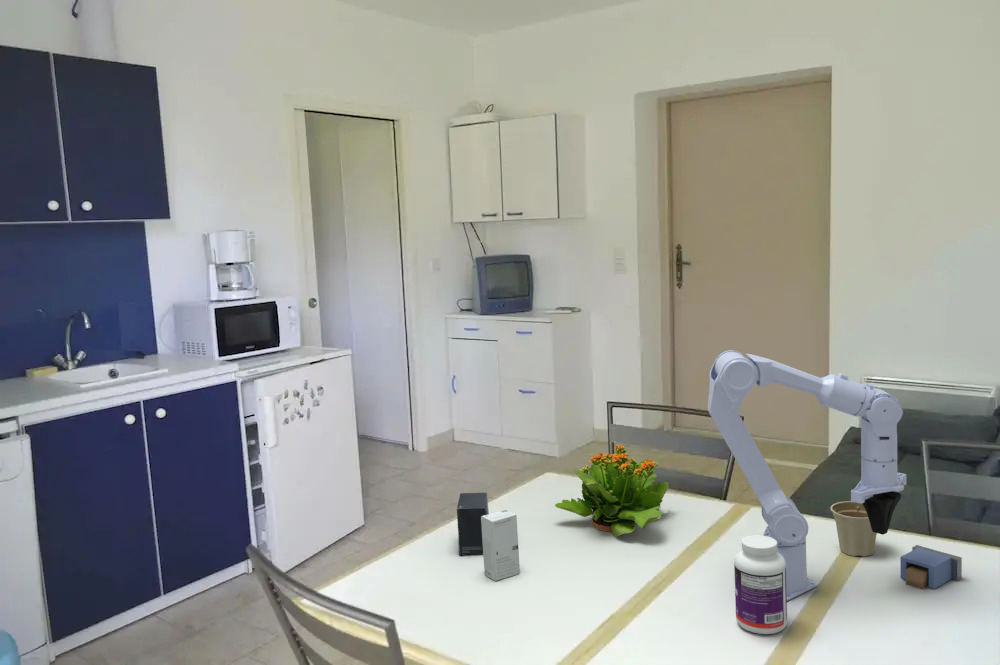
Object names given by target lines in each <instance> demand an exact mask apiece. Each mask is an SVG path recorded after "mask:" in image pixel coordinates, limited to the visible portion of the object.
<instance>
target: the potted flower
mask: <svg viewBox="0 0 1000 665" xmlns="http://www.w3.org/2000/svg"><path fill="white" fill-rule="evenodd" d="M627 451H628V450H627V448H625V446H624V445H623V444H620V445H619V444H616V445H615V451H614V452H615V453H613V454H612V453H605V454H604V453H603V452H602V453H601V452H598V453H596V454H595V455H594V456H592V457H590V459H589V460H588V463H591V466H589V465H588V464H586V466H585V467H584V466H583V467H582V469H581V468H579V469H577V468H576V469H574V472H575V474H576V475H577V477H578V478H579V479H580V480H581V481H582V482H581V489H582V490H581V494H582V496H581V497H582V498H579V497H576V499H577V500H576V499H574V498H571V499H570V500H569V499H562V500H561V502H557V503H555V504H554V507H556V508H557V509H561V510H565V511H567V512H570V513H574V514H576V515H579V516H580V517H583V518H584V517H585V518H586V517H588V516H591V515H593V516H592V517H591V523H592V525H593V526H594V528H595V529H597V530H601V531H605V532H608V533H609V532H610V533H612V534H613V536H614V537H617V538H619V537H620V536H621V535H622V536H623V535H625V534H626V535H627V534H631V533H633V532H634V531H635V530H636V526H635V525H637V526H638V527H639V528H640V529H641V530H644V529H645V527H647V526H648V525H649V524H650V523H652V522H654V521H656V520H658V519H660V518H662V516H663V511H661V510H660V509H661V503H663V498H664V497H665V495H666V493H667V490H669V482H667V481H664V482H663V481H659V482H657V483H655V481H656V479H657V477H658V476H657V474H656V471H657V469H656V467H658V466H659V465H660V464H661V462H659V461H657V460H652V459H651V460H650V459H649V458H645V459H643V460H641V461H640V462H639V463H638V462H637V461H636V458H634V457H633V456H631V457H630V459H629V454H628V453H626V452H627Z"/></svg>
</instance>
